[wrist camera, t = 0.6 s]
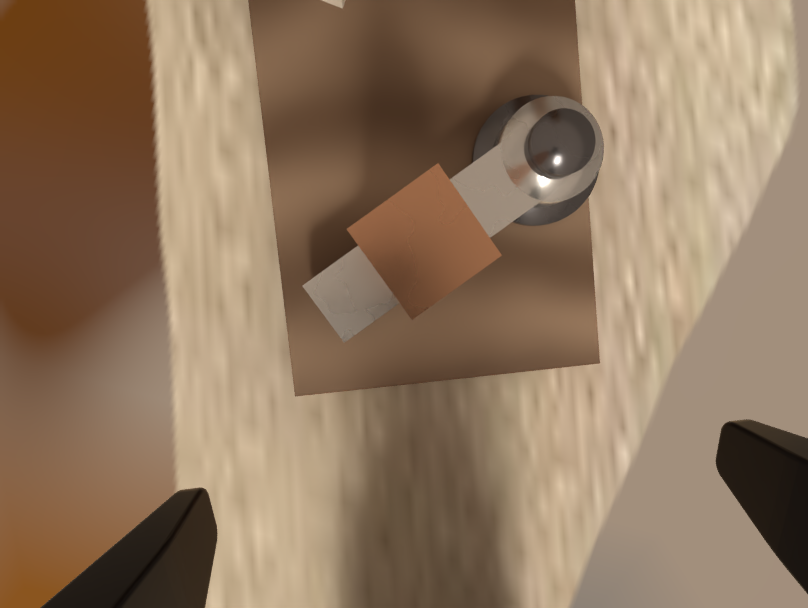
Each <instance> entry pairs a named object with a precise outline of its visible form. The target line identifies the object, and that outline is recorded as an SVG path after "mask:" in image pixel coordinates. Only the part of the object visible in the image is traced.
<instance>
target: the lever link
mask: <svg viewBox="0 0 808 608" xmlns="http://www.w3.org/2000/svg"><path fill="white" fill-rule="evenodd" d="M560 108H568V109H573V110H576V111H578V112H580V113H581V114H583V115H584V116H585V117H586V118H587V119H588V120H589V122H590V123H591V125H592V127H593V129H594V133H595V139H596V143H595V149H594V153H593V155H592V157H591V159H590V161H589V162H588V163H587V164H586V165H585V166H584V167H583V168H582V169H580V170H579V171H577V172H575V173H573V174H571V175H569V176H567V177H565V178H561V179H547V178H544V177H541V176H540V175H538V174H537V173H535V172H534V171H533V170H532V169H531V168H530V166H529V165H528V163H527V161H526V158H525V154H524V143H525V138H526V136H527V134H528V132H529V130H530V129H531V127H532V126H533V125H534V124H535V123H536V122H537V121H538V120H539V119H540V118H541V117H543V116H544V115H545V114H546V113H548V112H550V111H552V110H555V109H560ZM603 153H604V143H603V137H602V133H601V130H600V127H599V125H598V123H597V121H596V119H595V118H594V117H593V115H592V114H591V113H590V112H589V111H588V110H587V109H586V108H585V107H584V106H582V105H581V104H580V103H578V102H576V101H574V100H572V99H569V98H566V97H561V96H546V97H541V98H537V99H535V100H532V101H530V102H528V103H527V104H525V105H524V106H522V107H521V108H520V109H519V110H518V111H517V112H516V113H515V114H514V115H513V116H512V118H511V119H510V120H509V121H508V122H507V123H506V125H505V126H504V127H503V128H502V129H501V131H500V132H499V134H498V135H497V137H496V139H495V142H494V144H493V148H492V149H491V150H490V151H489V152H487V153H486V154H484V155H483V156H482V157H480V158H479V159H477V160H476V161H475V162H473V163H472V164H471V165H469V166H468V167H466V168H465V169H464V170H462V171H461V172H459V173H458V174H457V175H455V176H454V177H452V178H451V179H449V178H448V176H447V175H446V174H445V172H444V171H443V169H442V168H441V166H440V165H439V163H437V164H436V165H435V166H433V167H432V168H431V169H429V170H428V171H426V172H425V173H424V174H422V175H421V176H419V177H418V178H417V179H415V180H414V181H412V182H411V183H410V184H408V185H407V186H406V187H404V188H403V189H401V190H400V191H399V192H397V193H396V194H394V195H393V196H392V197H390V198H389V199H388V200H386V201H385V202H383V203H382V204H381V205H379V206H378V207H376V208H375V209H374V210H372V211H371V212H369V213H368V214H367V215H365V216H364V217H363V218H361V219H360V220H358V221H357V222H356V223H354V224H353V225H351V226H350V227H349V228H347V231H348V232H349V233H350V235H351V236H352V237H353V239H354V240H355V242H356V243H357V244H358V246H357V247H355V248H354V249H353V250H351V251H350V252H348V253H347V254H346V255H344V256H343V257H341V258H340V259H339V260H337V261H336V262H335V263H333V264H332V265H330V266H329V267H328V268H326V269H325V270H323V271H322V272H321V273H319V274H318V275H316V276H315V277H314V278H312V279H311V280H310V281H308V282H307V283H305V284H304V285H303V288H304V289H305V290H306V292H307V293H308V294H309V296H310V297H311V298H312V300H313V301H314V303H315V304H316V305H317V307H318V308H319V309H320V311H321V312H322V313H323V315H324V316H325V317H326V319H327V320H328V321H329V323H330V324H331V326H332V327H333V328H334V330H335V331H336V332H337V334H338V335H339V336H340V338H341V339H342V340H343V342H344V343H345V342H346V341H347V340H349V339H350V338H352V337H353V336H354V335H356V334H357V333H359V332H360V331H361V330H363V329H364V328H365V327H367V326H368V325H370V324H371V323H372V322H374V321H375V320H377V319H378V318H379V317H381V316H382V315H384V314H385V313H386V312H388V311H389V310H390V309H392V308H393V307H395V306H396V305H397V304H399V303H400V304H401V305H402V307H403V308H404V310H405V311H406V312H407V314H408V315H409V317H410V318H411V319H412V320H413V319H414V318H416V317H417V316H418V315H420V314H421V313H423V312H424V311H425V310H427V309H428V308H430V307H431V306H432V305H434V304H435V303H437V302H438V301H439V300H441V299H442V298H443V297H445V296H446V295H448V294H449V293H450V292H452V291H453V290H455V289H456V288H457V287H459V286H460V285H462V284H463V283H464V282H466V281H467V280H469V279H470V278H471V277H473V276H474V275H475V274H477V273H478V272H480V271H481V270H482V269H484V268H485V267H487V266H488V265H489V264H491V263H492V262H494V261H495V260H496V259H498V258H499V257H501V256H502V255H501V253H500V252H499V250H498V249H497V247H496V246H495V244H494V243H493V242H492V240H491V239H490V238H491V237H492V236H493V235H495V234H496V233H498V232H499V231H500V230H502V229H503V228H504V227H506V226H507V225H509V224H510V223H511V222H513V221H514V220H516V219H517V218H518V217H520V216H521V215H523V214H524V213H525V212H527V211H528V210H529V209H531V208H542V207H548V206H551V205H554V204H557V203H559V202H562V201H564V200H567V199H570V198H572V197H574V196H576V195H578V194H579V193H581V192H582V191H584V190H585V189H586V188H587V187H588V186H589V185H590V184H591V183H592V181H593V180H594V179H595V177H596V175H597V173H598V172H599V169H600V167H601V164H602V160H603Z"/></svg>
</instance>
